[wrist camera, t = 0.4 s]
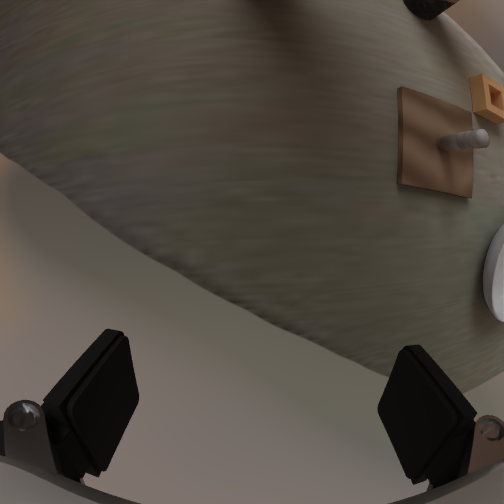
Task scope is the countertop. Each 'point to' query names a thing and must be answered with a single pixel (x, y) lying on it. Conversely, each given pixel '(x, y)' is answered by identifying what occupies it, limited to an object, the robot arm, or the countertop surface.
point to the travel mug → (428, 7)
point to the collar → (487, 98)
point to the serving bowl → (495, 275)
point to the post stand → (436, 144)
